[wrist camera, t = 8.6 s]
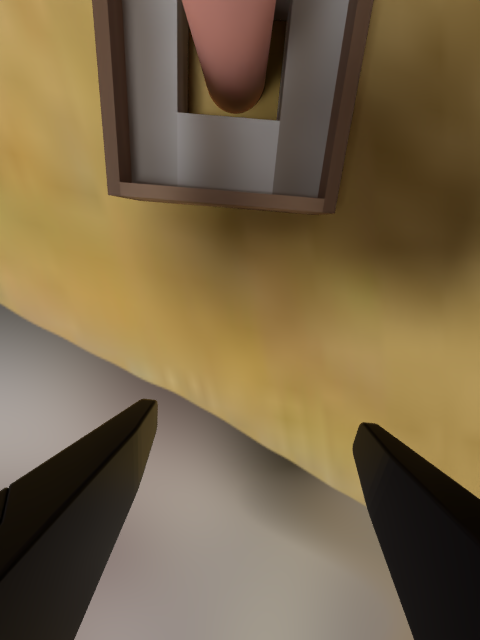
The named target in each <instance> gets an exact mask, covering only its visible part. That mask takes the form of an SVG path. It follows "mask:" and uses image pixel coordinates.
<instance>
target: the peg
mask: <svg viewBox="0 0 480 640" xmlns="http://www.w3.org/2000/svg"><path fill="white" fill-rule="evenodd" d="M182 3H183V6H184V10H185V13H186V16H187V20H188V23H189V27H190V30H191V34H192V37H193V40H194V44H195V47H196V51H197V54H198V57H199V61H200V64H201V68H202V71H203V74H204V78H205V81H206V85H207V88H208V91H209V94H210V96H211V98H212V100H213V101H214V102H215V104H216V105H217V106H218V107H219V108H221V109H222V110H224V111H226V112H229V113H234V114H238V113H243V112H245V111H247V110H249V109H251V108H252V107H253V106H254V105H255V104H256V103H257V102H258V100H259V99H260V97H261V95H262V92H263V89H264V85H265V78H266V70H267V63H268V56H269V48H270V41H271V33H272V26H273V19H274V11H275V4H276V0H182Z"/></svg>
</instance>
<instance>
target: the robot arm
mask: <svg viewBox="0 0 480 640" xmlns="http://www.w3.org/2000/svg"><path fill="white" fill-rule="evenodd" d="M157 410H158V404H157V401H156V400H151V399H141V400H139V401H138V402H136V403H135V404H133V405H131V406H130V407H128V408H127V409H125V410H124V411H122V412H121V413H119V414H118V415H116V416H115V417H113V418H112V419H110V420H108V421H107V422H105V423H104V424H102V425H101V426H99V427H98V428H96V429H95V430H93V431H92V432H90V433H89V434H87V435H85V436H84V437H82V438H81V439H79V440H78V441H76V442H75V443H73V444H72V445H70V446H69V447H67V448H65V449H64V450H62V451H61V452H59V453H58V454H56V455H55V456H53V457H52V458H50V459H49V460H47V461H46V462H44V463H42V464H41V465H39V466H38V467H36V468H35V469H33V470H32V471H30V472H29V473H27V474H26V475H24V476H22V477H21V478H19V479H18V480H16V481H15V482H13V483H12V484H10V486H9V488H4V489H2V490H1V491H0V640H74V638H75V636H76V634H77V632H78V629H79V627H80V625H81V622H82V620H83V618H84V615H85V613H86V610H87V608H88V605H89V604H90V601H91V599H92V596H93V594H94V592H95V590H96V587H97V585H98V583H99V580H100V578H101V576H102V573H103V571H104V568H105V566H106V564H107V561H108V559H109V557H110V554H111V552H112V550H113V547H114V545H115V543H116V540H117V538H118V536H119V533H120V531H121V529H122V526H123V524H124V522H125V519H126V517H127V514H128V512H129V510H130V508H131V505H132V503H133V501H134V498H135V496H136V493H137V491H138V488H139V485H140V482H141V479H142V476H143V473H144V470H145V466H146V463H147V460H148V457H149V453H150V450H151V447H152V443H153V440H154V437H155V434H156V430H157V413H158V411H157ZM353 455H354V459H355V463H356V467H357V471H358V475H359V479H360V483H361V487H362V490H363V494H364V498H365V502H366V505H367V509H368V512H369V515H370V518H371V521H372V524H373V527H374V529H375V532H376V535H377V538H378V541H379V543H380V546H381V549H382V551H383V554H384V557H385V560H386V563H387V565H388V568H389V571H390V574H391V577H392V579H393V582H394V585H395V588H396V590H397V593H398V596H399V599H400V602H401V604H402V607H403V610H404V612H405V615H406V618H407V621H408V624H409V626H410V629H411V632H412V635H413V638H414V640H480V499H479V498H477V497H476V496H475V495H473V494H472V493H471V492H469V491H468V490H466V489H465V488H464V487H462V486H461V485H460V484H458V483H457V482H456V481H454V480H453V479H451V478H450V477H449V476H447V475H446V474H445V473H443V472H442V471H440V470H439V469H438V468H436V467H435V466H434V465H432V464H431V463H430V462H428V461H427V460H425V459H424V458H423V457H421V456H420V455H419V454H417V453H416V452H415V451H413V450H412V449H410V448H409V447H408V446H406V445H405V444H404V443H402V442H401V441H399V440H398V439H397V438H395V437H394V436H393V435H391V434H390V433H389V432H387V431H386V430H384V429H383V428H382V427H380V426H379V425H377V424H375V423H366V422H363V423H361V424H360V425H359V428H358V431H357V434H356V437H355V440H354V443H353Z"/></svg>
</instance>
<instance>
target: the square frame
mask: <svg viewBox="0 0 480 640" xmlns="http://www.w3.org/2000/svg"><path fill="white" fill-rule="evenodd" d="M373 1H374V0H276V4H275V11H274V19H273V20H281V21H287V24H286V33H285V43H284V53H283V63H282V72H281V82H280V92H279V101H278V111H277V121H275V120H263V119H251V118H239V117H227V116H215V115H203V114H191V113H188V38H189V23H188V20H187V16H186V13H185V10H184V6H183V3H182V0H92V5H93V17H94V29H95V41H96V53H97V66H98V78H99V90H100V102H101V114H102V126H103V138H104V150H105V162H106V174H107V186H108V195H112V196H117V197H123V198H128V199H134V200H139V201H152V202H164V203H176V204H188V205H201V206H213V207H225V208H238V209H250V210H262V211H275V212H287V213H299V214H311V215H319V214H332V213H335V209H336V203H337V198H338V192H339V187H340V182H341V176H342V171H343V165H344V160H345V154H346V149H347V143H348V138H349V132H350V127H351V121H352V116H353V110H354V105H355V99H356V94H357V88H358V83H359V77H360V72H361V67H362V61H363V56H364V50H365V45H366V39H367V34H368V28H369V23H370V17H371V12H372V6H373Z"/></svg>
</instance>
